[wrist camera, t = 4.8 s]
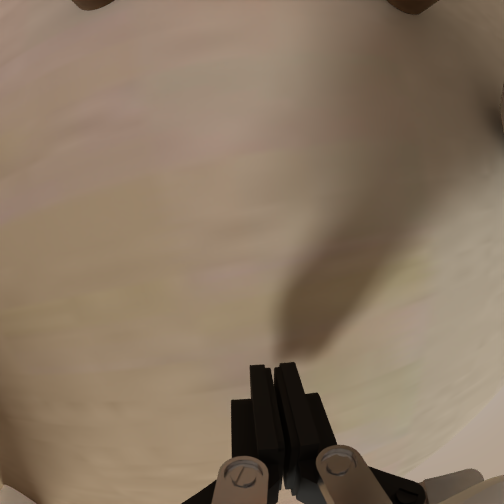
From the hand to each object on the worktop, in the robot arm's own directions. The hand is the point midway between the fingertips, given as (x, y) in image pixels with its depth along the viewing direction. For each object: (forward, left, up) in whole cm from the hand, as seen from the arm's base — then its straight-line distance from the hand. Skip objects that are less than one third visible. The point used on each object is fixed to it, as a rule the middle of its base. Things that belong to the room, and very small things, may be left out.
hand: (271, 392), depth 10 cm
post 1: (+7, +17, -2) cm, 18 cm away
